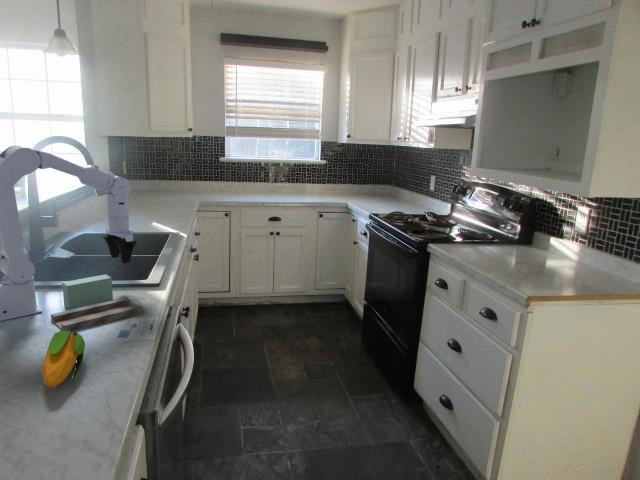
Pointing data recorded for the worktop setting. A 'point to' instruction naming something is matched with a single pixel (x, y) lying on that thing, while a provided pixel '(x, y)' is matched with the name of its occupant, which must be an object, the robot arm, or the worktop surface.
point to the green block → (87, 291)
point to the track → (95, 314)
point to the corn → (62, 357)
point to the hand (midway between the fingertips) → (120, 259)
